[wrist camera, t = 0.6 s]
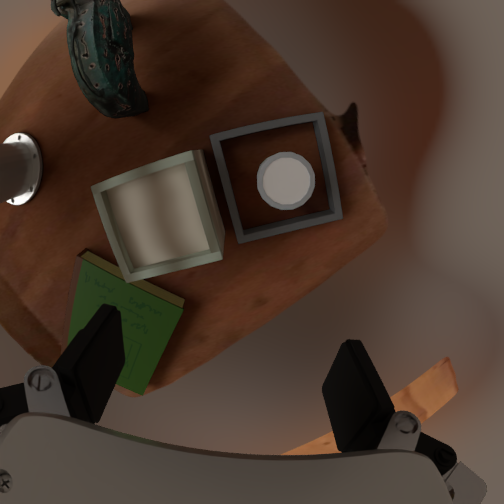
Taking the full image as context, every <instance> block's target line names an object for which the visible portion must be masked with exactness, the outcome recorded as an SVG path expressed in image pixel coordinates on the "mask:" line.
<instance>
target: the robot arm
mask: <svg viewBox="0 0 504 504" xmlns="http://www.w3.org/2000/svg"><path fill="white" fill-rule="evenodd" d="M42 167H43V166H42V156H41V151H40V149H39V146H38V144H37V142H36V141H35V139H34V138H33V137H32V136H30V135H29V134H27V133H15V134H13V135H11V136H9V137H8V138H7V139H6V140H5V141H4V143H2V144H0V203H2V202H5V201H7V202H8V203H10V204H12V205H22V204H24V203H26V202H28V201H30V200H31V199H32V198H33V196H34V195H35V194H36V192H37V190H38V188H39V185H40V182H41V177H42ZM124 364H125V351H124V342H123V332H122V321H121V312H120V310H117V307H116V306H113V305H109V304H105V303H104V304H102V305H101V306H100V308H99V309H98V310H97V312H96V313H95V314H94V315H93V317H92V318H91V319H90V321H89V322H88V323H87V325H86V326H85V327H84V329H81V330H79V331H78V333H77V334H76V335H75V337H74V338H73V339H72V341H71V342H70V344H69V345H68V346H67V348H66V349H65V350H64V352H63V353H62V355H61V356H60V357H59V359H58V360H57V362H56V363H55V365H54V366H53V367H52V368H50V367H48V366H36V367H33V368H31V369H30V370H29V371H28V372H27V373H26V374H25V377H24V383H20V384H16V385H12V386H8V387H4V388H0V504H481V502H482V500H483V498H484V497H485V495H486V492H487V486H486V483H485V482H484V481H483V480H482V479H481V478H480V477H479V476H477V475H476V474H475V473H474V472H473V471H471V470H470V469H469V468H468V467H466V466H465V465H464V464H463V463H462V462H461V461H460V462H459V463H457V456H456V453H455V451H454V450H453V449H452V448H451V447H450V446H448V445H447V444H444V443H442V442H440V441H438V440H436V439H434V438H432V437H430V436H428V435H426V434H424V433H422V432H420V431H421V423H420V421H419V419H418V418H417V417H416V416H415V415H414V414H412V413H411V412H408V411H397V412H395V410H394V405H393V403H392V401H391V399H390V397H389V395H388V393H387V391H386V389H385V387H384V385H383V383H382V381H381V379H380V377H379V375H378V373H377V371H376V369H375V367H374V365H373V363H372V361H371V359H370V357H369V356H368V353H367V351H366V350H365V348H364V346H363V344H362V342H361V341H360V340H350V339H348V340H346V342H344V343H342V345H341V346H340V349H339V351H338V353H337V356H336V358H335V360H334V362H333V364H332V366H331V369H330V371H329V373H328V375H327V377H326V379H325V381H324V383H323V386H322V393H323V397H324V400H325V404H326V407H327V411H328V415H329V418H330V422H331V426H332V430H333V433H334V437H335V441H336V445H337V448H338V450H339V451H341V452H342V453H333V454H317V455H255V454H239V453H228V452H219V451H210V450H203V449H196V448H189V447H184V446H178V445H172V444H167V443H162V442H158V441H153V440H149V439H145V438H141V437H137V436H133V435H129V434H125V433H122V432H118V431H114V430H111V429H108V428H105V427H101V426H98V425H95V424H94V423H95V422H96V423H98V422H99V421H100V418H101V416H102V414H103V412H104V409H105V406H106V405H107V402H108V400H109V398H110V395H111V393H112V391H113V389H114V387H115V384H116V382H117V380H118V378H119V376H120V373H121V371H122V369H123V367H124Z"/></svg>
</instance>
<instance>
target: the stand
mask: <svg viewBox="0 0 504 504" xmlns="http://www.w3.org/2000/svg"><path fill="white" fill-rule="evenodd" d="M91 189H92V193H93V196H94V199H95V202H96V205H97V208H98V211H99V214H100V217H101V220H102V223H103V226H104V229H105V231H106V234H107V237H108V239H109V242H110V245H111V247H112V250H113V252H114V255H115V257H116V260H117V262H118V265H119V267H120V270H121V272H122V274H123V277H124V279H125V281H126V283H129V282H133V281H137V280H142V279H146V278H150V277H154V276H158V275H162V274H166V273H170V272H174V271H178V270H182V269H186V268H190V267H194V266H198V265H202V264H206V263H211V262H215V261H219V260H223V250H224V239H225V228H224V225H223V221H222V218H221V214H220V210H219V207H218V203H217V200H216V196H215V192H214V189H213V185H212V181H211V178H210V174H209V170H208V167H207V163H206V159H205V155H204V152H203V150H191V151H188V152H184V153H181V154H178V155H175V156H172V157H168V158H165V159H162V160H159V161H156V162H153V163H151V164H148V165H145V166H142V167H139V168H136V169H134V170H131V171H128V172H126V173H123V174H120V175H118V176H115V177H113V178H110V179H108V180H105V181H103V182H100V183H98V184H96V185H93V186H91Z"/></svg>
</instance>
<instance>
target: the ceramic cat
mask: <svg viewBox="0 0 504 504" xmlns="http://www.w3.org/2000/svg"><path fill="white" fill-rule="evenodd" d="M51 10H52V11H53V12H54V13H55V14H56V15H57V16H60V15H61V16H63V17H65V18H66V19H68V25H67V43H68V48H69V54H70V58H71V65H72V69H73V73H74V76H75V78H76V80H77V82H78V84H79V87H80V89H81V90H82V92H83V94H84V95H85V97H86V98H87V99H88V101H89V102H90V103H91V104H92V105H93V106H94V107H95V108H96V109H97V110H98V111H99V112H100V113H102V114H103V115H105V116H107V117H111V118H121V117H131V116H135V115H138V114H140V113H143V112H146V111H148V110H149V108H148V100H147V97H146V95H145V92H144V91H143V90H142V89H141V87H140V85H139V83H138V80H137V78H136V74H135V71H134V64H133V60H134V52H133V41H132V30H133V27H132V24H131V21H130V14H129V13H128V12H127V10H126V9H125V8H124V7H123V6H122V4H121V2H120V0H51Z"/></svg>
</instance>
